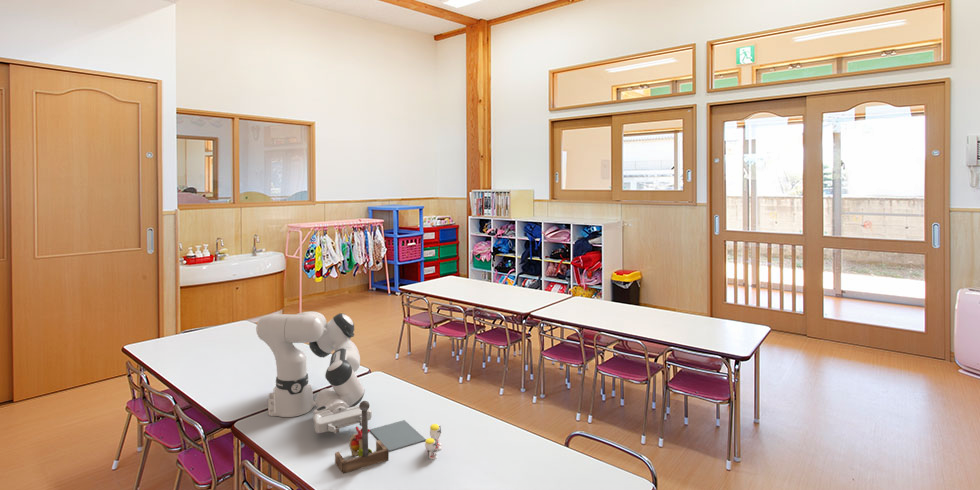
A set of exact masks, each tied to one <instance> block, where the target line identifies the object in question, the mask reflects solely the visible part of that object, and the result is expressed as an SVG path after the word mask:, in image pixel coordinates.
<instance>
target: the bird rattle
mask: <svg viewBox="0 0 980 490" xmlns="http://www.w3.org/2000/svg"><path fill="white" fill-rule="evenodd" d="M355 430H356V432H357V433H355V434H352V435H351V437H350V438H349V443H348V444H349V450H350V452H351V456H355V457H359V456H363V449H362V428H359V427H358V426H355ZM369 432H371V431H370V429H369V428H368V434H369ZM370 453H373V450H372V449H370V448H368V454H370Z"/></svg>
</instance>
